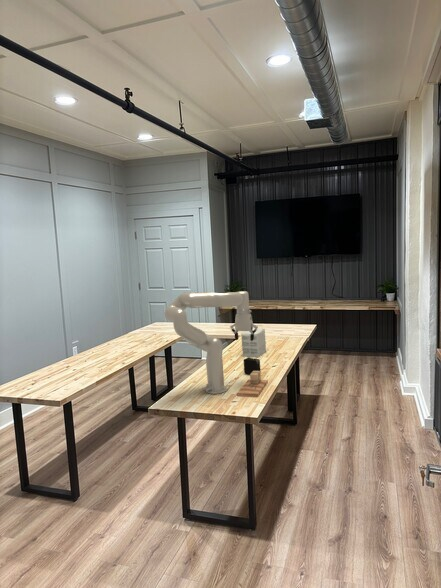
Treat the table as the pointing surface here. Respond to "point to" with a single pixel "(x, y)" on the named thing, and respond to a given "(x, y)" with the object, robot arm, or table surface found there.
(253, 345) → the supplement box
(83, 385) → the table surface
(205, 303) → the robot arm
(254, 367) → the electronic device
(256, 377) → the block
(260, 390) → the board
